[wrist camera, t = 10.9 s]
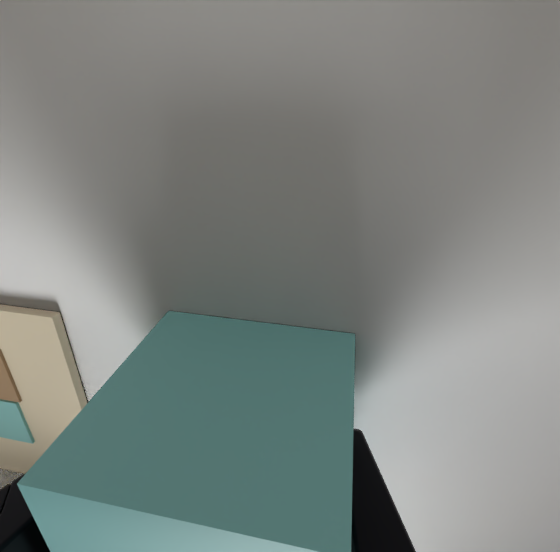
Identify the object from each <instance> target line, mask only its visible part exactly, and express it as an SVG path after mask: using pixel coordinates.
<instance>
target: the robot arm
mask: <svg viewBox="0 0 560 552" xmlns="http://www.w3.org/2000/svg"><path fill="white" fill-rule="evenodd" d="M26 473H27V472H26ZM26 473H25V474H26ZM25 474H23V475H22V476H20V477H19V478H17V479H16V480H14V481H13V482H12V484H8V485H6V486H5V487H3V488H2V489H0V552H50V550H49V548H48V546H47V544H46V542H45V540H44V538H43V536H42V534H41V532H40V530H39V528H38V526H37V524H36V522H35V520H34V518H33V516H32V514H31V512H30V510H29V508H28V506H27V503H26V501H25V499H24V497H23V495H22V493H21V491H20V489H19V487H18V485H17V483H18V482H19V481H20V479H21V478H22V477H23V476H24V475H25ZM351 552H416V551H415V549H414V547H413V544H412V542H411V540H410V538H409V535H408V533H407V531H406V529H405V526H404V524H403V522H402V520H401V518H400V515H399V513H398V511H397V509H396V506H395V504H394V502H393V500H392V497H391V495H390V493H389V491H388V488H387V486H386V484H385V482H384V479H383V477H382V475H381V473H380V471H379V468H378V466H377V464H376V462H375V459H374V457H373V455H372V453H371V450H370V448H369V446H368V444H367V441H366V439H365V437H364V435H363V433H362V431H361V430H359V429H353V479H352V534H351Z"/></svg>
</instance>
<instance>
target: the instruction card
mask: <svg viewBox="0 0 560 552" xmlns="http://www.w3.org/2000/svg"><path fill="white" fill-rule="evenodd" d="M86 404H87V400H86V397H85V393H84V390H83V387H82V383H81V380H80V377H79V374H78V370H77V367H76V364H75V361H74V357H73V354H72V351H71V347H70V344H69V341H68V338H67V334H66V331H65V328H64V325H63V321H62V318H61V315H60V312H54V311H47V310H39V309H32V308H24V307H16V306H9V305H1V304H0V468H1V469H5V470H10V471H14V472H19V473H24V474H25V473H26V472H28V470H29V469H30V468H31V467H32V466H33V465H34V464H35V462H36V461H37V460H38V459H39V458H40V457H41V456H42V454H43V453H44V452H45V451H46V450H47V449H48V448H49V446H50V445H51V444H52V443H53V442H54V441H55V440H56V439H57V437H58V436H59V435H60V434H61V433H62V432H63V431H64V429H65V428H66V427H67V426H68V425H69V424H70V423H71V421H72V420H73V419H74V418H75V417H76V416H77V415H78V413H79V412H80V411H81V410H82V409H83V408H84V407H85V405H86Z"/></svg>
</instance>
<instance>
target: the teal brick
mask: <svg viewBox="0 0 560 552" xmlns="http://www.w3.org/2000/svg"><path fill="white" fill-rule="evenodd" d="M354 369H355V334H353V333H344V332H336V331H328V330H320V329H312V328H304V327H296V326H288V325H280V324H272V323H264V322H255V321H247V320H239V319H231V318H223V317H215V316H207V315H199V314H191V313H183V312H174V311H168V312H167V313H166V314H165V316H164V317H163V318H162V319H161V320H160V321H159V322H158V324H157V325H156V326H155V327H154V328H153V329H152V330H151V331H150V333H149V334H148V335H147V336H146V337H145V338H144V339H143V341H142V342H141V343H140V344H139V345H138V346H137V347H136V349H135V350H134V351H133V352H132V353H131V354H130V355H129V357H128V358H127V359H126V360H125V361H124V362H123V363H122V365H121V366H120V367H119V368H118V369H117V370H116V371H115V372H114V374H113V375H112V376H111V377H110V378H109V379H108V380H107V382H106V383H105V384H104V385H103V386H102V387H101V388H100V390H99V391H98V392H97V393H96V394H95V395H94V396H93V398H92V399H91V400H90V401H89V402H88V403H87V404H86V405H85V407H84V408H83V409H82V410H81V411H80V412H79V413H78V415H77V416H76V417H75V418H74V419H73V420H72V421H71V423H70V424H69V425H68V426H67V427H66V428H65V429H64V431H63V432H62V433H61V434H60V435H59V436H58V437H57V439H56V440H55V441H54V442H53V443H52V444H51V445H50V446H49V448H48V449H47V450H46V451H45V452H44V453H43V454H42V456H41V457H40V458H39V459H38V460H37V461H36V462H35V464H34V465H33V466H32V467H31V468H30V469H29V470H28V472H27V473H26V474H25V475H24V476H23V477H22V478H21V479H20V481H19V482H18V483H17V485H18V487H19V489H20V491H21V493H22V495H23V497H24V499H25V501H26V503H27V506H28V508H29V510H30V512H31V514H32V516H33V518H34V520H35V522H36V524H37V526H38V528H39V530H40V532H41V534H42V536H43V538H44V540H45V542H46V544H47V546H48V548H49V550H50V552H351V534H352V479H353V424H354Z"/></svg>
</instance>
